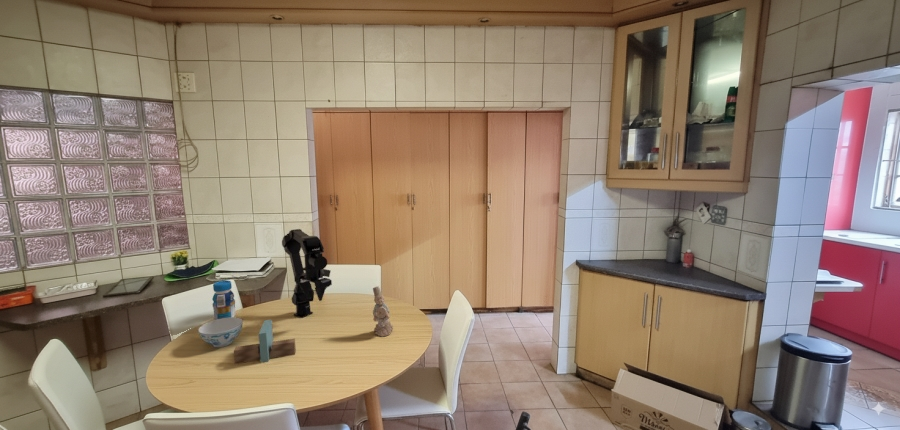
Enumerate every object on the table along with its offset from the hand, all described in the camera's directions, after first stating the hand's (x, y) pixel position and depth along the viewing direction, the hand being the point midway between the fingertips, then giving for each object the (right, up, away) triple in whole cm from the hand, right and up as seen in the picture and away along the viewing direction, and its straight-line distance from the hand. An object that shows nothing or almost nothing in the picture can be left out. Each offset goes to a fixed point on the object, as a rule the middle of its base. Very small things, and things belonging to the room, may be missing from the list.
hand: (313, 298), depth 158 cm
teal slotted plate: (-8, -15, -24) cm, 30 cm away
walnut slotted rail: (-8, -16, -26) cm, 31 cm away
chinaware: (-31, -15, -16) cm, 37 cm away
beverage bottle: (-40, -12, 0) cm, 41 cm away
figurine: (+32, -13, -7) cm, 36 cm away
